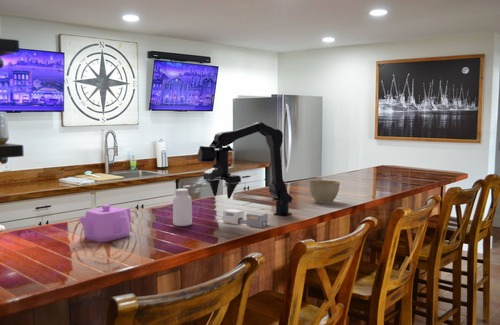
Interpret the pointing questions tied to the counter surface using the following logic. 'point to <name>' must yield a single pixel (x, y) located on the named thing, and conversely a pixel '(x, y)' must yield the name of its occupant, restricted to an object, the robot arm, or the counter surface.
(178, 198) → the pill bottle
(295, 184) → the counter surface
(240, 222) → the rail
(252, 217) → the mounted module
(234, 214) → the block
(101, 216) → the teakettle
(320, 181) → the planter bowl
